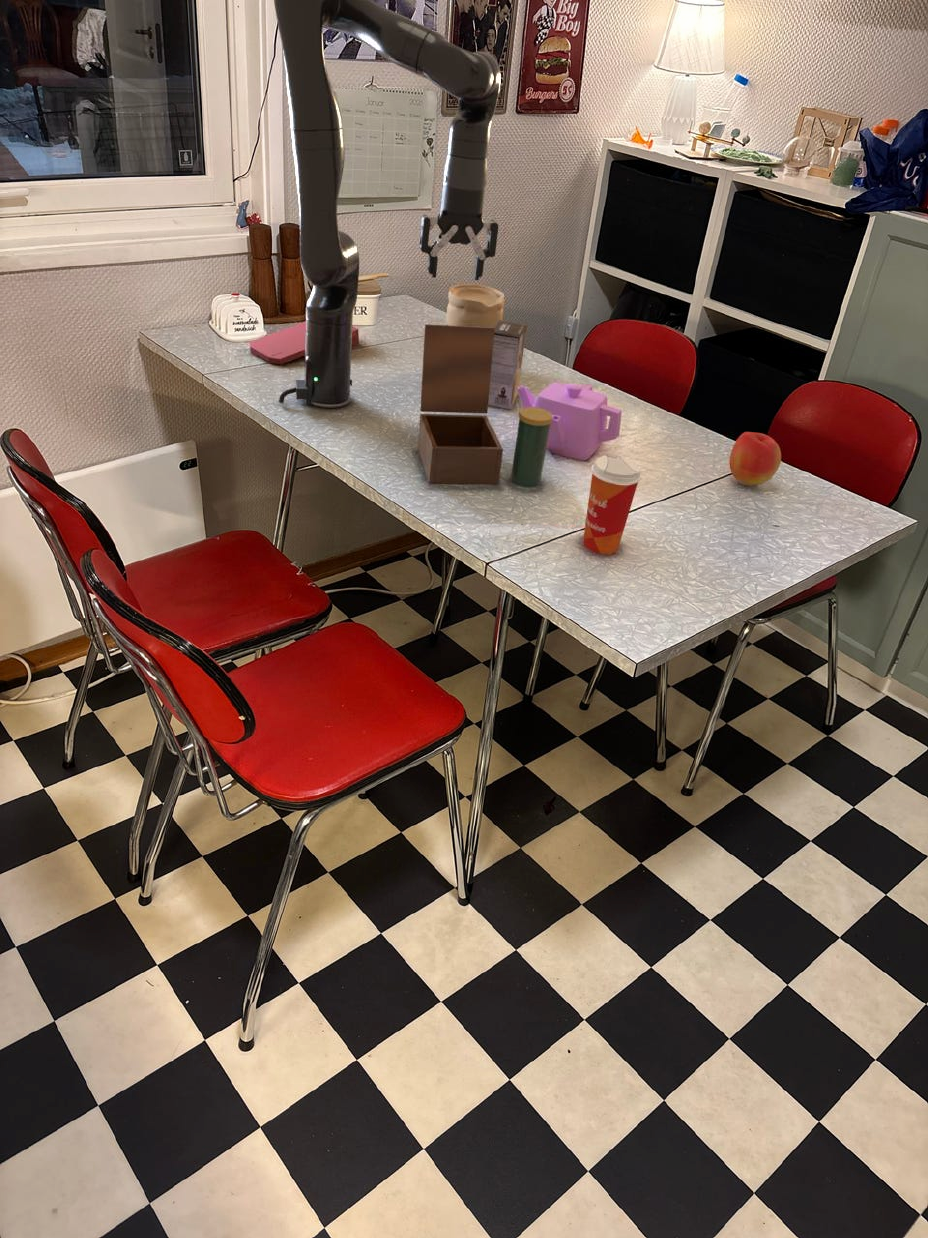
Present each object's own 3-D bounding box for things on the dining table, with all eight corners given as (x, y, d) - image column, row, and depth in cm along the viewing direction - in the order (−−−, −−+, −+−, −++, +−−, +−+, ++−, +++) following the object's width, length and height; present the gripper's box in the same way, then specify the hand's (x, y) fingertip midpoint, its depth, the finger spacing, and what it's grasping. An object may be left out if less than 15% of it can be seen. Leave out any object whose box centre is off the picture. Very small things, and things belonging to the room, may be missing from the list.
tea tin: (513, 491, 173) (523, 420, 165) (506, 476, 178) (516, 406, 170) (544, 492, 174) (556, 420, 166) (536, 477, 179) (547, 407, 171)
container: (504, 371, 223) (515, 294, 213) (476, 385, 214) (486, 305, 204) (460, 356, 228) (468, 280, 218) (431, 369, 219) (438, 290, 209)
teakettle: (619, 459, 190) (632, 400, 183) (543, 464, 184) (553, 404, 177) (581, 423, 202) (592, 367, 195) (509, 428, 197) (517, 370, 190)
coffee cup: (572, 531, 163) (588, 452, 155) (618, 534, 164) (636, 455, 156) (581, 557, 156) (598, 475, 148) (629, 559, 157) (649, 478, 149)
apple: (744, 496, 182) (759, 448, 176) (712, 474, 189) (726, 427, 183) (781, 490, 186) (797, 443, 180) (749, 468, 193) (763, 422, 187)
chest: (497, 488, 173) (503, 449, 169) (428, 488, 171) (432, 447, 166) (481, 453, 185) (486, 415, 181) (417, 452, 182) (420, 413, 178)
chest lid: (494, 328, 173) (493, 327, 174) (425, 324, 171) (424, 324, 171) (487, 413, 180) (486, 412, 181) (420, 411, 177) (420, 410, 178)
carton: (278, 380, 213) (364, 346, 226) (275, 360, 210) (363, 327, 223) (247, 363, 220) (333, 331, 233) (244, 343, 216) (331, 311, 229)
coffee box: (489, 389, 213) (499, 318, 204) (517, 395, 212) (528, 323, 203) (482, 404, 205) (491, 331, 196) (511, 409, 205) (521, 336, 195)
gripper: (499, 181, 172) (487, 274, 181) (421, 175, 169) (413, 269, 178) (508, 191, 166) (495, 286, 175) (427, 184, 163) (419, 281, 172)
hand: (454, 277), depth 176 cm, fingers open, 7 cm apart
